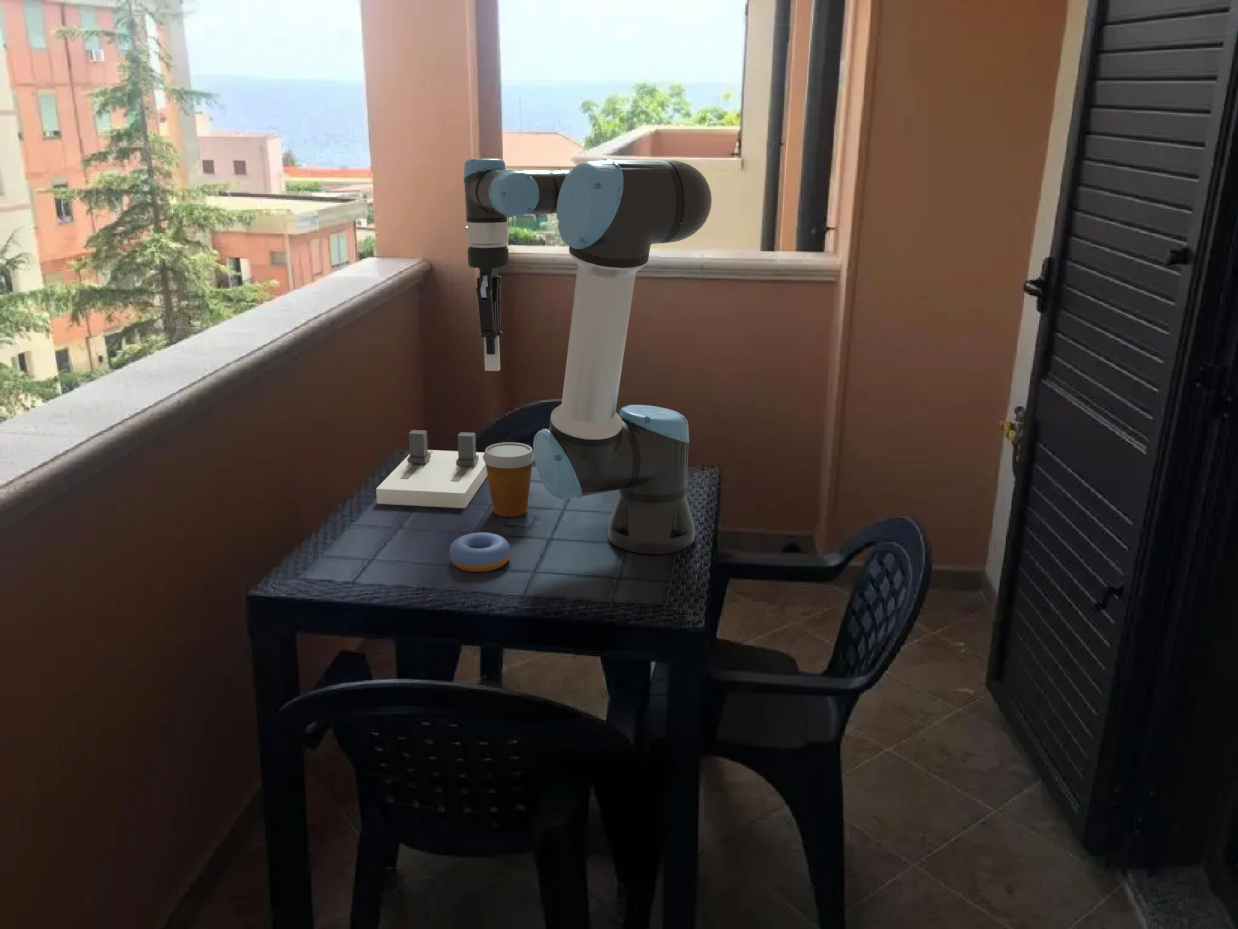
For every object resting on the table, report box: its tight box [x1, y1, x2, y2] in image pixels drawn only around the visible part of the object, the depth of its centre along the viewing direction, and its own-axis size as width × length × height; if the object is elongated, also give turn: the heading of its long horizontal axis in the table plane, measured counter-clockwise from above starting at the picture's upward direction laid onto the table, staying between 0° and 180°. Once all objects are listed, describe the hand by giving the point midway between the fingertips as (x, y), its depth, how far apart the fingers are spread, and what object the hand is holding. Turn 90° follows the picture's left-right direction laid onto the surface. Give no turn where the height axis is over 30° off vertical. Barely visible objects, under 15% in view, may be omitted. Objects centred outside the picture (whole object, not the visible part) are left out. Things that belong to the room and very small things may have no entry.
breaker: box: [456, 431, 479, 466], centre depth 196 cm, size 4×4×6 cm
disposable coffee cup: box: [483, 441, 535, 518], centre depth 180 cm, size 10×10×12 cm
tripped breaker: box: [407, 429, 431, 464], centre depth 197 cm, size 4×4×6 cm
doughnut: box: [449, 531, 511, 573], centre depth 160 cm, size 10×10×5 cm
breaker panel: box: [375, 449, 488, 509], centre depth 194 cm, size 24×17×3 cm
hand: (492, 369), depth 188 cm, fingers closed
